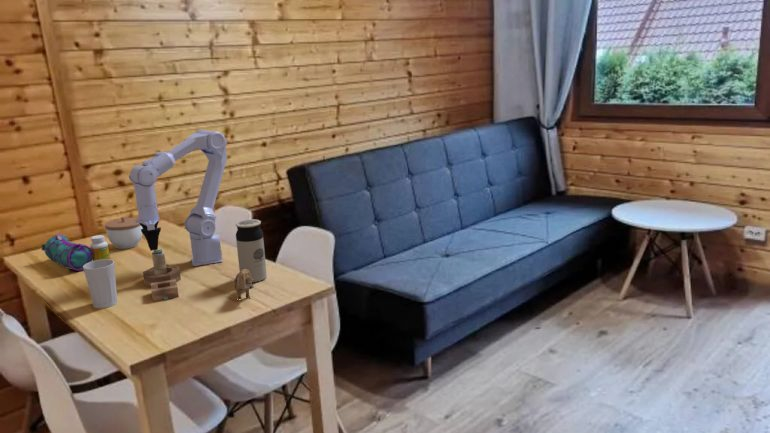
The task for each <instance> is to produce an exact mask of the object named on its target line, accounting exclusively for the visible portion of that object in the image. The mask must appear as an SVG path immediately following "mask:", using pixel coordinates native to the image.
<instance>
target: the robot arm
mask: <svg viewBox="0 0 770 433" xmlns="http://www.w3.org/2000/svg"><path fill="white" fill-rule="evenodd" d="M227 144H228V140H227V139H226V137H225V136H224V134H223V133H222V132H221V131H217V130H215V131H213V130H205V129H199V130H196V132H194V133H191V134H190V135H189V136H188V137H187V138H186V139H184V140H183V141H182V142H180V143H179V144H178V145H176V146H175V147H173V148H172V149H171V150H169V151H168V152H166V151H161V152H160V151H157V152H155V153H154V156H153V157H151V158H150V159H148V160H144V161H142V165H140V164H139V165H135V166H133V167H132V168H131V170H130V173H129V175H128V179H129V181H130V182H131V183H132V184H133V188H134V194H135V201H136V207H137V214H138V218H139V219H135V222H136V223H138V222H139V223H140V225H141V226H142V228H143V229H141V232H142V233H143V235H142V236H144V238H145V240H146V242H147V244H148V248H149V250H150V251H151V252H153V251H154V250H159V237H160V234H161V231H162V228H161V227H162V226H161V227H160V226H159V227H158V225H159V223H160V222H159V221H160V220H161V219H160V218H161V217H160V215H159V210H158V208H159V207H158V203H157V195H156V189H155V183H156V182H157V178H159V177H160V176H162V175H163V174H164V173H166V172H168V171H169V170H170V169H173V168H174V166H175V162H176V161H177V160H179V159H181V158H182V157H184V156H186V155H188V154H190V153H191V152H193V151H195V150H200V151H201V152H202V153H204V155H205V157H206V158H207V160H208V161H207V162H208V163H207V166H206V170H205V173H204V176H203V181H202V185H201V187H200V191H199V195H198V199H197V202H196V205H195V206H194V207H193V208H192V209H190V212H189V215H188V216H187V218H186V219H185V221H184V229H185V230H186V231H187V232H188V234H189V238H190V240H189V241H190V245H191V246H190V248H191V256H192V257H191V258H190V260H191V263H192V267H197V266H198V267H199V266H203V265H211V264H216V263H222V262H223V256H222V255H223V253H222V246H221V239H220V235H219V234H218V233H215V231H216V228H217V226H216V219H217V216H216V214H215V212H214V207H215V203H216V202H217V201H216V200H217V197H218V192H219V190H220V186H221V182H222V179H223V178H222V177H223V175H224V171H225V168H226V164H227V159H228V158H227Z"/></svg>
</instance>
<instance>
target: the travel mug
mask: <svg viewBox="0 0 770 433" xmlns="http://www.w3.org/2000/svg"><path fill="white" fill-rule="evenodd" d="M261 223H262V220H259V219H253V218H252V219H243V220H240V221H237V222H236V223H235V227H237V231H236V233H235V239H236V250H237V259H238V270H239V272H240V271H241V270H243V269H247V270H249V271H250V274H251V278H252V279H254V280H253V283H258V282H257V281H259V282H261V280H262V281H263V280H265V279H266V278H267V274H268V273H267V265H266V254H265V253H266V252H265V244H264V243H265V242H264V232H263V230H262V229H261V225H262V224H261Z"/></svg>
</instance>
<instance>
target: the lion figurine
mask: <svg viewBox="0 0 770 433" xmlns="http://www.w3.org/2000/svg"><path fill="white" fill-rule="evenodd" d="M234 278H235V279H234V280H233V281H234V282H233V283H234V287H235V290H236V295H237V298H236V300H237V299H238V300H239V299H241V300H242V295H241V293H242V292H243V293H244V292H245V298H246V299H247V298H250V297H251V295H250V288H249V287H253V288H254V285H253V283H254V282H253V280H254V279H252V278H251V274H250V271H249V270H247V269H243V270H241V271H240V270H239V272H237V274H236V276H235V277H234ZM252 282H253V283H252ZM250 299H251V298H250ZM238 300H237V301H238Z"/></svg>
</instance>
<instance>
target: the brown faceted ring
mask: <svg viewBox="0 0 770 433" xmlns="http://www.w3.org/2000/svg"><path fill="white" fill-rule="evenodd" d="M166 269H167V274H162V275H155V272H154V266H152V267H151V268H148V269H146V270H143V271H142V274H143V282H144V283H143V284H144V286H145V287H151V283H156V282H162V281H168V280H174V279H176V283H177V282H179V281H182V277H181V271H180V268H179V265H174V264H173V265H172V264H166Z"/></svg>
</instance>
